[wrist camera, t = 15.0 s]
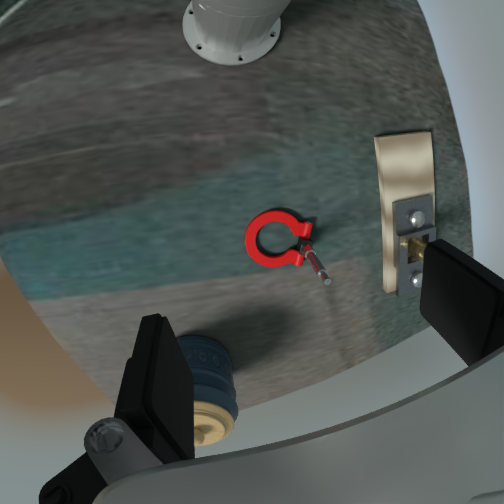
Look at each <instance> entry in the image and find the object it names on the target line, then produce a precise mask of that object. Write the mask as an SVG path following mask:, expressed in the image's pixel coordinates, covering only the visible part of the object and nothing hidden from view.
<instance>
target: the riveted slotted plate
mask: <svg viewBox="0 0 504 504" xmlns="http://www.w3.org/2000/svg"><path fill="white" fill-rule="evenodd" d="M392 215H393V266H394V267H395V268H396V295H397V296H398V297H400V296H402V295H405V294H408V293H411V292H414V291H416V290H419V289H421V288H422V275H423V262H421V261H420V260H418V259H417V258H416V257H414V256H410V257H408V239H411V238H415V237H418V236H422V241H423V242H424V243H426V244H428V243H429V242H432V241H435V240H436V226H434V225H433V195H430V194H427V195H423V196H418V197H414V198H409V199H404V200H400V201H395V202H392Z"/></svg>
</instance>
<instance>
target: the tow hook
mask: <svg viewBox="0 0 504 504" xmlns="http://www.w3.org/2000/svg"><path fill="white" fill-rule="evenodd" d="M275 221H277V222H282V223H284V224H286V225H287V226H289V227H290V229H291V231H292V233H293V234H294V235H296V236H299V239H298V243H297V247H296V249H288V250H287V251H286V252H285V253H283V254H281V255H278V256H268V255H265V254H263V253H262V252H261V251H260V250H259V249H258V248H257V245H256V235H257V233H258V231H259V230H260V228H261V227H262V226H264V225H265V224H267V223H269V222H275ZM312 226H313V223H311V222H309V221H304V222H299V221H298V220H297V219H296V218H295V217H294V216H292V215H291V214H289V213H287V212H285V211H281V210H270V211H266V212H263V213H261V214H259V215H258V216H256V217H255V218H254V219H253V220H252V221H251V223H250V224H249V225H248V228H247V230H246V233H245V245H246V249H247V251H248V254H249V255H250V256H251V258H252V259H253V260H254V261H256V262H257V263H259V264H261V265H263V266H266V267H279V266H283V265H285V264H288V263H293V264H294V265H296V266H302V264H303V260H304V257H305V258H306V259H307V260H308V261H309V262H310V264H311V265H312V267H313V269H314V270H315V272H316V274H317V275H318V277H319V278H322V280H323V282H324V283H325V285H329V284H330V283H331V280H330V278H329V277H328V275H327V271H326V269H325V268H324V266H323V265H322V263H321V262H320V261H319V259H318V258H317V256H316V252H315V251H314V249H313V248H312V245H313V242H312V241H311V239H310V234H311V230H312Z"/></svg>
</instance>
